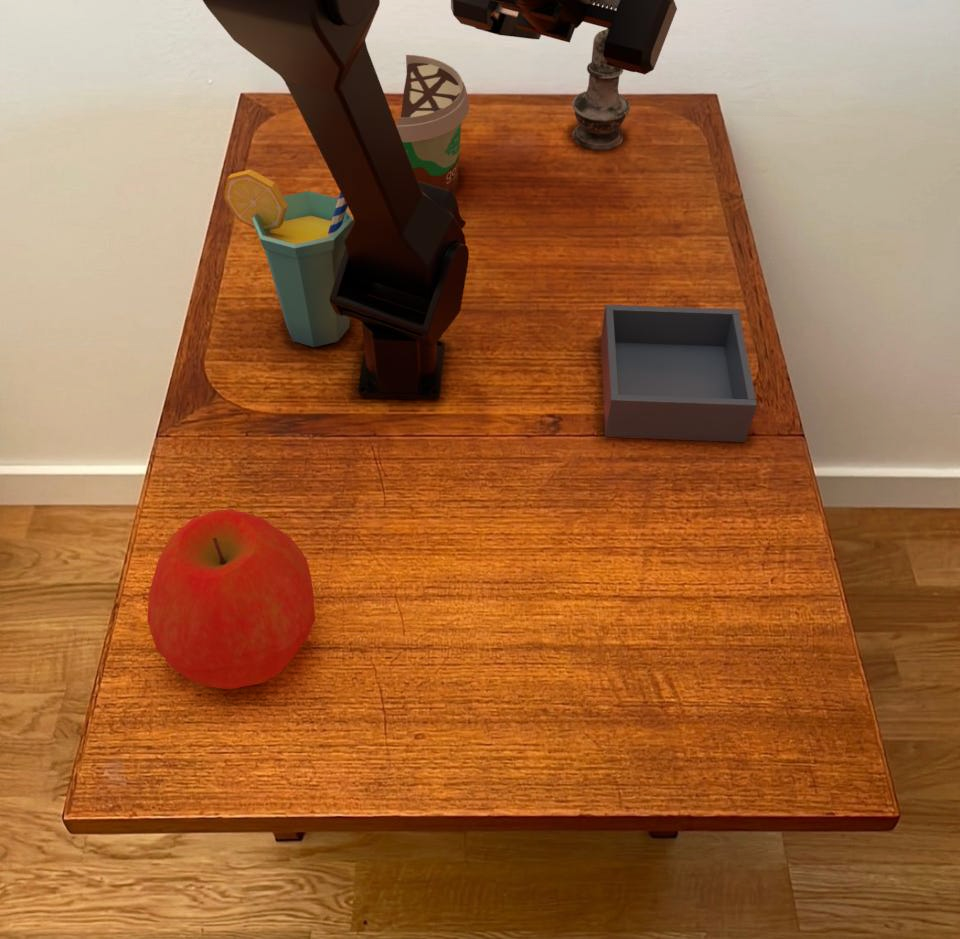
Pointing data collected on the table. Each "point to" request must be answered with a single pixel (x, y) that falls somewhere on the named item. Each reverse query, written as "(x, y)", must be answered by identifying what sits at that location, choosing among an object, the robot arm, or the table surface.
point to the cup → (297, 250)
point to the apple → (230, 600)
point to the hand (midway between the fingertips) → (584, 45)
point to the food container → (433, 120)
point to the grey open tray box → (676, 374)
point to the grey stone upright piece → (600, 103)
